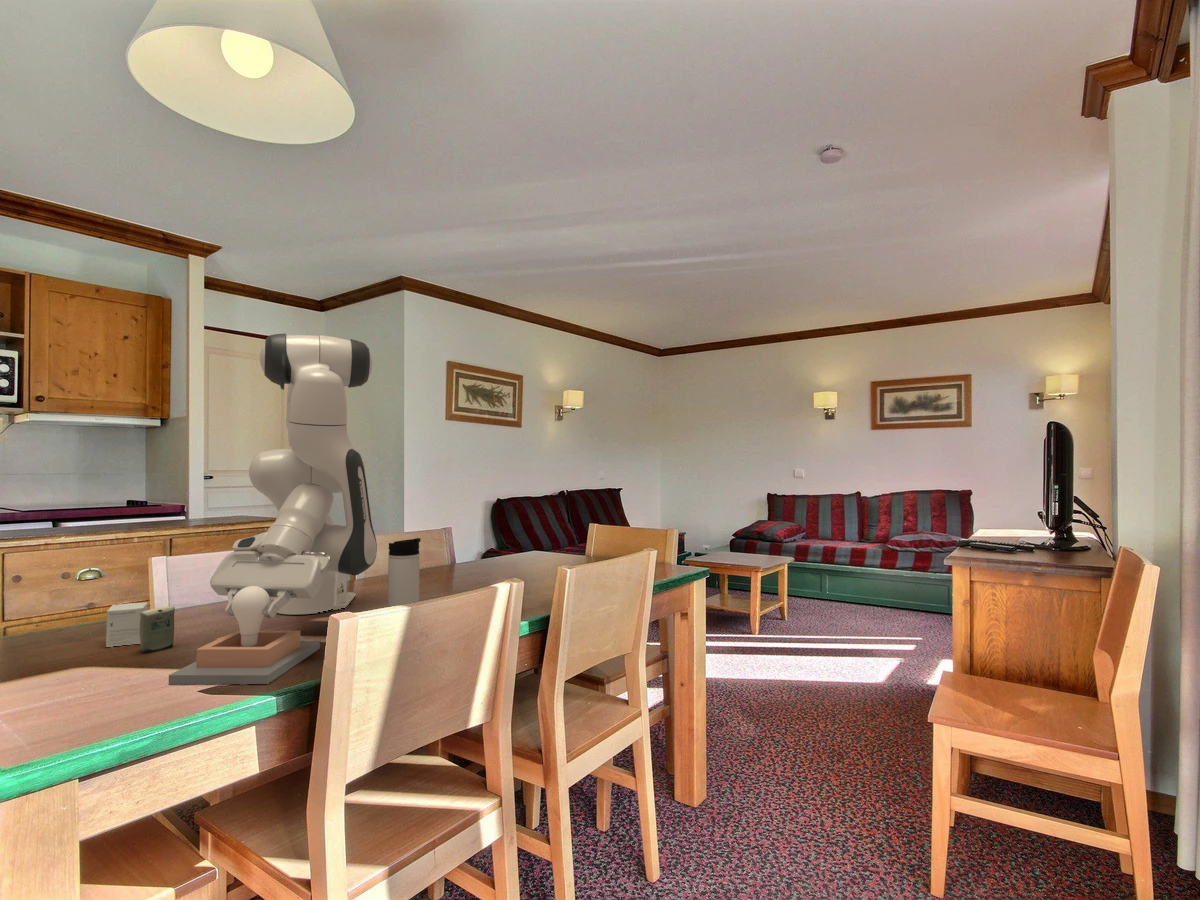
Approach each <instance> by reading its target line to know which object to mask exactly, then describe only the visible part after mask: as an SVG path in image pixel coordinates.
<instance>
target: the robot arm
mask: <svg viewBox="0 0 1200 900" xmlns="http://www.w3.org/2000/svg"><path fill="white" fill-rule="evenodd" d="M260 348H261V349H260V352H259V365H260V367H261V369H262V372H263V373H264V376H265V377H266V379H268V380H269V381H270V382H271V383H273V384H276V385H278V386H279V387H280V389H281V390H283V391H284V390H285V384H286V385H288V386H287V393H286V394H287V395H286V417H285V418H286V419H285V425H286V428H287V432H288V433H287V434H288V442H289V447H290V448H277V449H271V450H270V449H269V450H264V451H259V452H258V453H257V454H256V455H255V456H254V457H253V459H252V460H251V462H250V465H249V468H248V477H249V480H250V482H251V484H252V485H253V487H254V489H256V490H257V491H258V492H260V493H261V494H263V495H264V496H265V497H266V498H268V499H269V500H270V501H271V502H272V503H273V505H274V507H275V509H276V511H278V512H277V515H276V519H275V521H274V522H273V523H272V524H271V525H270V526H269V528H268V529H267V531H266V532H265V531H264V532H261V533H259V534H255V535H253V536H249V537H245V538H244V537H243V538H240V539H237V540H236V541H234V543H233V544H232V550H233V551H232V552H230V553H228V554H227V555H226V556H224V558H223V559H222V560H221V562H220V563H219V564H218V566H217V567H216V569H215V571H214V572H213V574H212V575H211V577H210V580H209V584H210V587H211V589H212V590H213V591H214V592H215V593H216V594H217V595H218V596H221V597H222V596H226V597H227V601H228V602H227V605H226V607H225V609H224V613H225V614H226V616H229V617H235V615H234V613H233V611H232V607H231V606H232V600H233V598H234V596H235V595H236V594H237V593H238V592H239V591H240V590H241V589H243V588H245V587H249V586H257V587H260V588H262V589H264V590H265V591H266V592H267V593H268V594H269V597H270V598H273V601H272V602H270V604H267V606H266V607H265V609H264V610H263V615H265V616H264V618H275V617H276V615H277V613H278V614H280V615H294V616H295V615H310V614H319V613H318V612H320V613H324V612H323V611H326V612H329V611H328V610H331V609H333V610H331V611H338V609H339V610H342V609H341V608H345V607H346V606H347V605H348V604H349V602H350V601H351V600H352V599H353V598H354V597H355V596H356V597H357V593H355V592H351V591H347V589H348V587H347V583H348V582H347V575H350V576H359V575H360V574H362V573H364V572H365V571H367V570H368V569H369V568H370V567H371V566H373V565H374V563H375V561H376V558H377V552H378V545H377V538H376V534H375V531H374V528H373V522H372V515H371V507H370V501H369V499H370V498H369V492H368V484H367V478H366V477H367V475H366V468H365V464H364V461H363V458H362V456H361V454H360V452H358V451H357V450H355V449H354V447H353V446H352V444H351V442H350V438H349V435H348V428H347V427H348V425H347V424H348V408H347V406H348V405H347V397H346V396H347V395H346V389H345V387H347V388H358V387H361V386H363V385H365V384H366V383H367V382H368V381H369V378H370V376H371V373H372V370H373V358H372V354H371V353H370V348H369V347H368V345H367V344H366V343H364V342H363V341H359V340H356V339H352V338H350V339H346V338H340V337H336V336H335V337H334V336H330V335H321V334H319V335H313V334H287V333H276V334H275V333H274V334H270V335H268V336H267V338H265V341H264V342H263V344H262V347H260ZM334 494H341V495H342V500H343V509H344V517H345V523H346V524H345V525H340V524H334V522H333V521H334V520H333V518H332V516H331V515H330V512H331V509H332V506H333V503H334V500H335V499H334V498H335V496H334ZM356 597H355V598H356ZM345 609H346V608H345Z"/></svg>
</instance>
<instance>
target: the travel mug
mask: <svg viewBox="0 0 1200 900" xmlns="http://www.w3.org/2000/svg"><path fill="white" fill-rule="evenodd" d="M420 542H422V541H421V537H416V538H412V539H411V538H410V539H404V540H397V541H393V542H389V543H388V559H387V561H388V562H387V563H388V564H387V565H388V568H387V569H388V571H387V575H388V577H387V579H388V580H387V581H388V582H387V608H388V607H391V606H396V605H404V604H410V603H416V602H419V603H420V550H419V549H420Z"/></svg>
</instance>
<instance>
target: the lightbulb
mask: <svg viewBox="0 0 1200 900" xmlns="http://www.w3.org/2000/svg"><path fill="white" fill-rule="evenodd" d="M267 604H271V597H269V594H268V593H267V592H266V591H265V590H264V589H262V588H260V587H257V586H249V587H245V588H243V589H241V590H240V591H239V592H238V593H237V594H236V595H235V596H234V598H233V600H232V606H231V607H232V611H233V613H234V615H235V616H234V617H235V619H236V620H237V623H238V627H239V631H240V634H241V645H242V646H243V647H253V646H255V645H256V644H257V640H258V633H259V632H260V631H261V625H262V622H263V620H264V618H265V615H263V610H264V609H265V607H266V606H267Z"/></svg>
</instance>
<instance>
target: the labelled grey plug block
mask: <svg viewBox="0 0 1200 900" xmlns="http://www.w3.org/2000/svg"><path fill="white" fill-rule="evenodd" d="M175 611H176V610H175V606H172V605H168V606H163V607H162V606H161V607H157V608H152V609H148V610H146V611H143V612H141V613H140V616H141V618H140V628H139V635H140V643H141V645H140V650H141V651H140V653H141V652H142V653H141V654H148V653H147V652H150V653H153V652H152V651H154V652H157V650H158V651H162V650H165V649H170V648H173V646H174V640H175V639H174V637H175ZM161 649H162V650H161Z"/></svg>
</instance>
